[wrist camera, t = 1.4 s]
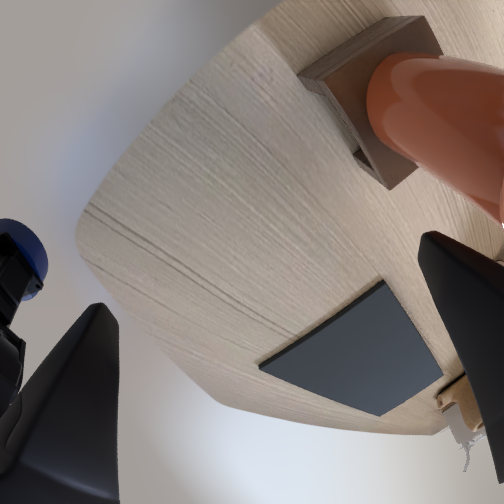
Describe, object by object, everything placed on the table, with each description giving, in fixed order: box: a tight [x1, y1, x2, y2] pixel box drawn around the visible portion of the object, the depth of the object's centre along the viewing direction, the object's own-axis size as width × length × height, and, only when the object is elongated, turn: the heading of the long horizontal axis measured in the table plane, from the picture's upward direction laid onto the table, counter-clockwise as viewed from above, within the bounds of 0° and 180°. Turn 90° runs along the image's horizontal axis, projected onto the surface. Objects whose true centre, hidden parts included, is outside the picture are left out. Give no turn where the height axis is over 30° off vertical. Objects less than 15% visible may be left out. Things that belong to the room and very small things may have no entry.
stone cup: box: [437, 375, 484, 432], centre depth 50 cm, size 15×12×15 cm
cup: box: [366, 51, 504, 231], centre depth 10 cm, size 6×6×9 cm
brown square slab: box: [297, 16, 444, 190], centre depth 15 cm, size 8×8×4 cm
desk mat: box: [258, 280, 444, 417], centre depth 40 cm, size 40×16×1 cm, turn 41°
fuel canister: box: [443, 403, 487, 472], centre depth 65 cm, size 15×5×25 cm, turn 135°
